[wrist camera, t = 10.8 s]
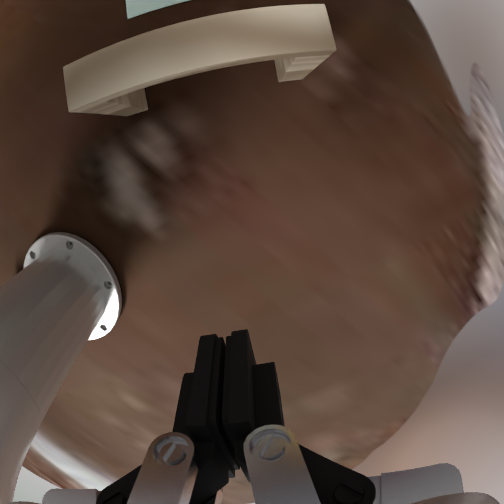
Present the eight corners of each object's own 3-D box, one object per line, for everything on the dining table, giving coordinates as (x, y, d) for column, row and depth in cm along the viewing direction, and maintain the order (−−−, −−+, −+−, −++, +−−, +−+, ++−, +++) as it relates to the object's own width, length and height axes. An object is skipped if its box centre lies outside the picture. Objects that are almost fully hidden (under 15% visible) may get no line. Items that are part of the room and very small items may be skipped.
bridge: (302, 79, 22) (336, 50, 13) (126, 116, 22) (68, 112, 13) (295, 47, 21) (324, 3, 12) (121, 85, 21) (62, 67, 12)
